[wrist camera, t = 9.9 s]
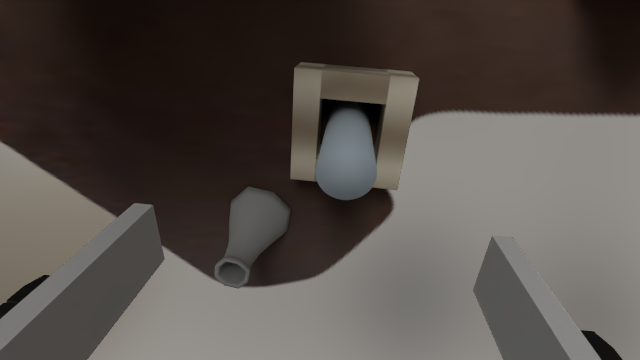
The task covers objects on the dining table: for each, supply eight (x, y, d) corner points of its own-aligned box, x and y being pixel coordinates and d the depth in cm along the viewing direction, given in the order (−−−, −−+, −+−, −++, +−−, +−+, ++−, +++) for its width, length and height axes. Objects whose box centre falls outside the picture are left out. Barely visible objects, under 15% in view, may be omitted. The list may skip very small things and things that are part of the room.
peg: (330, 98, 31) (317, 141, 21) (372, 103, 31) (381, 147, 20) (326, 138, 33) (313, 196, 22) (366, 142, 33) (371, 203, 22)
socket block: (301, 62, 30) (294, 67, 26) (411, 71, 30) (419, 78, 26) (296, 162, 34) (290, 178, 31) (392, 172, 34) (397, 190, 30)
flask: (302, 206, 37) (286, 266, 28) (274, 249, 40) (250, 315, 31) (245, 175, 36) (208, 226, 27) (220, 221, 39) (180, 282, 30)
